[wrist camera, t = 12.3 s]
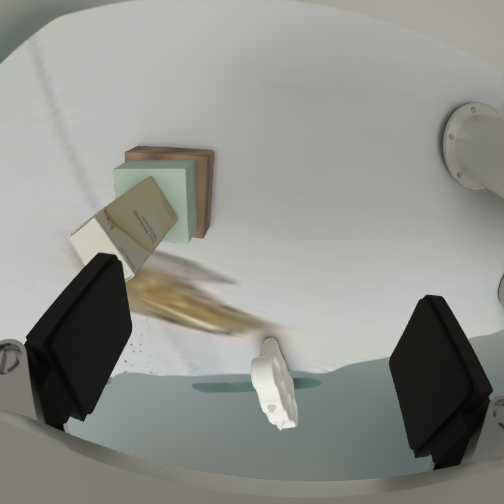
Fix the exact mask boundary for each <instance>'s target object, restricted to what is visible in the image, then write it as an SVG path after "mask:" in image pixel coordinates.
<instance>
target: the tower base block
mask: <svg viewBox="0 0 504 504" xmlns="http://www.w3.org/2000/svg"><path fill="white" fill-rule="evenodd" d="M129 160H196V194H197V225H198V228H197V229H196V231H195V233H194V235H193V237H195V238H204V236H205V234H206V232H207V230H208V228H209V226H210V209H211V191H212V175H213V160H214V151H212V150H200V149H186V148H169V147H146V146H137V147H135V148H133V149H131V150H129V151H127V152H125V162H127V161H129Z"/></svg>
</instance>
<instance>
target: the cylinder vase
mask: <svg viewBox="0 0 504 504" xmlns="http://www.w3.org/2000/svg"><path fill="white" fill-rule="evenodd" d="M499 300H500V303H501V304H502V306H503V307H504V277H503V279H502V281H501V284H500V288H499Z"/></svg>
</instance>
